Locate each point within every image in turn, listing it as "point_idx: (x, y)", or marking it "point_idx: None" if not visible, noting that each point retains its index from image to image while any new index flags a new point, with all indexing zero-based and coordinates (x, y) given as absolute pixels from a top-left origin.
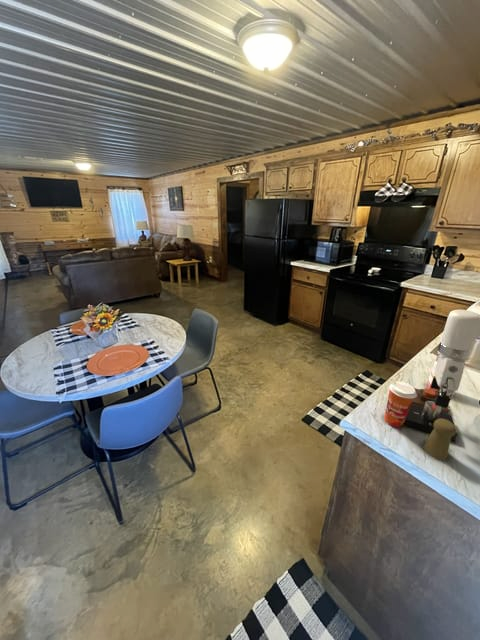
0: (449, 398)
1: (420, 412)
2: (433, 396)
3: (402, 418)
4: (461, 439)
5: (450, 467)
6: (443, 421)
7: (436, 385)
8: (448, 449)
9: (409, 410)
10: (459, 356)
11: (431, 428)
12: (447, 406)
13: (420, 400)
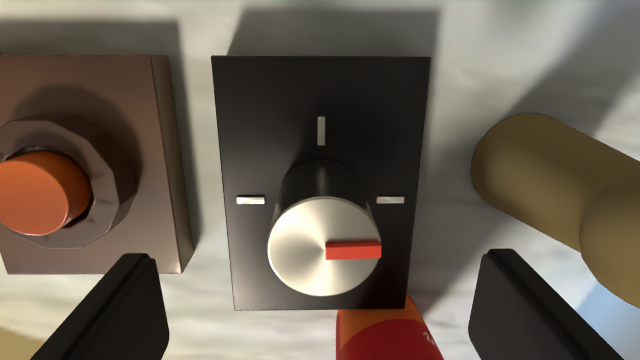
0: (602, 355)
1: None
2: (62, 164)
3: (432, 338)
4: (367, 11)
5: (610, 111)
6: None
7: (142, 348)
8: (586, 135)
9: None
10: None
11: (414, 190)
12: (518, 258)
13: (135, 218)
